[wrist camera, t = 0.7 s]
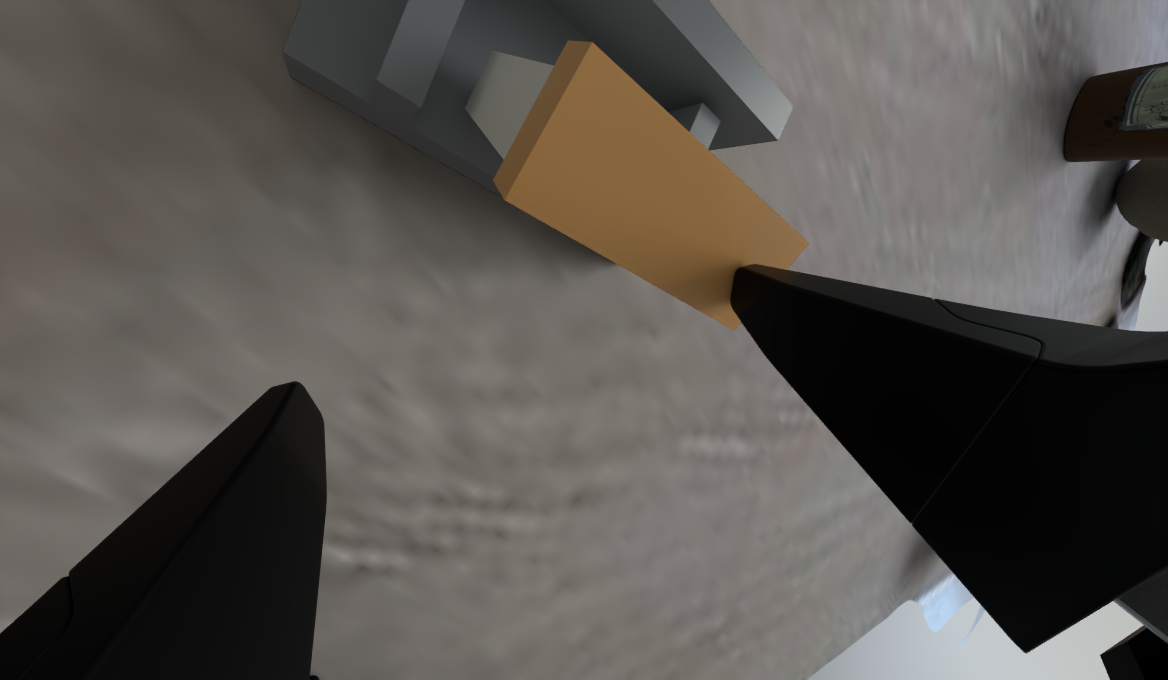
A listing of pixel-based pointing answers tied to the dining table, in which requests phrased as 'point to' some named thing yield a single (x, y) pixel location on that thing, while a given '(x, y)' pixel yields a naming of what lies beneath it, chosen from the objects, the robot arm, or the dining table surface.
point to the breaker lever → (624, 176)
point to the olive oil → (1120, 117)
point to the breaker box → (532, 31)
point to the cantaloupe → (1145, 197)
